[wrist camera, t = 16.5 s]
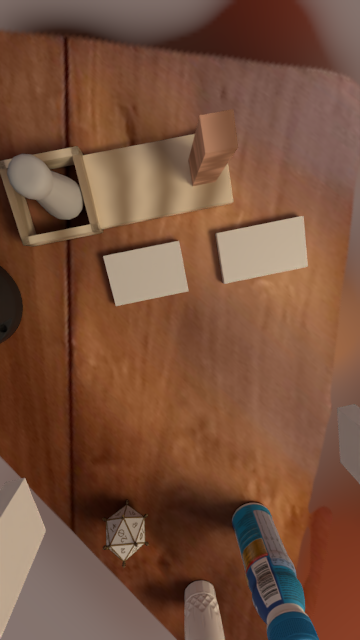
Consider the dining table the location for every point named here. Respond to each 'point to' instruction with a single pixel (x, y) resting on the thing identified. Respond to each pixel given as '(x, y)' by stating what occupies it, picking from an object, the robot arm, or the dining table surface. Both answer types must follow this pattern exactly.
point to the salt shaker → (45, 186)
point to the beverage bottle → (271, 575)
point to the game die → (125, 532)
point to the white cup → (202, 612)
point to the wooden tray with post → (141, 179)
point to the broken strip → (234, 256)
